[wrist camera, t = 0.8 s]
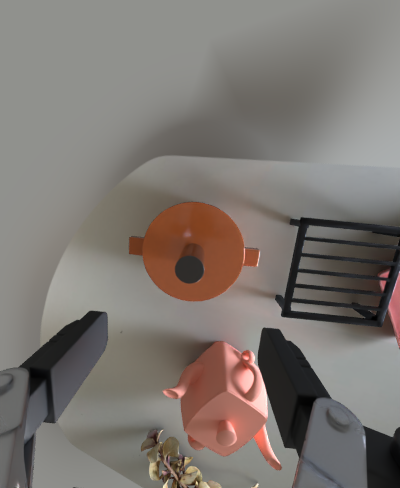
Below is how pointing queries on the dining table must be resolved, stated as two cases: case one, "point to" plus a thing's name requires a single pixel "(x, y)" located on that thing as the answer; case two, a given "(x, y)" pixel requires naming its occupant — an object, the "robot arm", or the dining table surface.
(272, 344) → the robot arm
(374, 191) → the dining table surface
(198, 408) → the teapot
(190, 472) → the artificial flower
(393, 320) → the plant saucer
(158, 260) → the lid
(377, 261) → the rack
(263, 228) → the dining table surface
